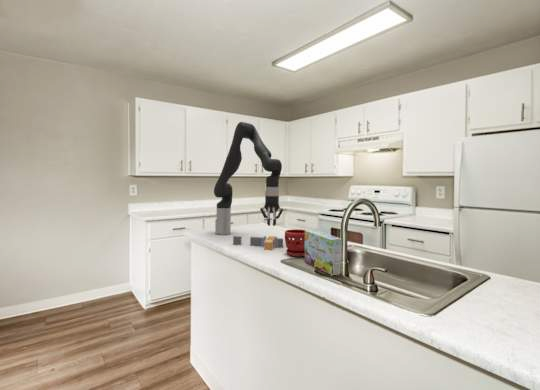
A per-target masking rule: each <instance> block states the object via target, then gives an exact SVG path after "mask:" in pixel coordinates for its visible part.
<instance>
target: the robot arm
mask: <svg viewBox="0 0 540 390" xmlns="http://www.w3.org/2000/svg"><path fill="white" fill-rule="evenodd" d="M244 139H247V140H249V141H251V142H252V144H253V150H254V153H255V154H256V155H257V157H258V158H259V159H260V163H261V165H262V168H263V170H265V171H266V172H270V173H271V174H270V175H269V176H268V175H267V177H266V178H265V193H264V194H265V195H264V198H265V203H264V206H263V207H260V209H259V210H260V212H261V214H262V217H263V218H264V219H266V221H267V226H268V227H270V226H271V214H272V218H273V219H272V226H273V227H275V226H276V225H277V220H278V219H279V218H280V216H281V215H282V214H283V212H284V210H285V209H284V208H282V207H280V190H279V186H280V185H279V182H280V180H279V179H280V177H281V173H282V168H283V166H282V165H283V164H282V161H281V160H280V159H275V158H272V152H271V151H270V150H269V149H268V147H267V146H266V145H265V143H264V142H263V140H262V138H261V136H260V135H259V132H258V130H257V129H256V127H255V125H253V124H252V123H249V122H246V121H245V122H244V121H240V122H238V123H237V124H236V126H235V130H234V133H233V136H232V141H231V144H230V148H229V151H228V153H227V156H226V158H225V161H224V165H223V167H222V170H221V173H220V175H219V177H218V179H217V181H216V182H215V185H214V188H213V195H214V196H215V197H216V198H221V200H220V201H218V202H217V203H216V218H215V220H214V221H215V223H214V224H215V225H214V226H215V228H214V229H215V231H214V232H215V235H221V236H222V235H223V236H225V235H226V236H227V235H230V234H231V231H232V230H231V228H232V227H231V225H232V224H231V223H232V222H231V221H232V220H231V219H232V218H231V216H232V215H231V214H232V213H231V211H232V210H231V209H232V203H233V187H232V185H231V184H230V183H228V181H229V180H230V179H231V177H232V176H233V175H235V173H236V172H237V171H238V170H239V168H240V165H241V162H242V160H243V157H242V151H241V145H242V142H243V140H244ZM266 212H267V213H266ZM277 212H278V214H277Z"/></svg>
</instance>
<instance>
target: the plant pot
mask: <svg viewBox="0 0 540 390" xmlns="http://www.w3.org/2000/svg"><path fill="white" fill-rule="evenodd" d="M305 230H306V229H299V228H298V229H294V228H293V229H287V230H285V231H284V242H285V243H284V244H285V247H286V250H285V253H286V254H287V255H290V256H291V257H292V256H293V257H302V256H303V257H305Z"/></svg>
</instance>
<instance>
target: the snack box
mask: <svg viewBox="0 0 540 390" xmlns="http://www.w3.org/2000/svg"><path fill="white" fill-rule="evenodd" d="M304 230H305V256H304V260H303V261H304V263H306V264H308V265H310V266H311V267H314V268H315V267H319V268H321V269H323V270H325V271H327V272H330V273H332V274H337V275H336V276H340V275H342V265H343V264H342V263H343V262H342V255H343V239H342V238H340V237H337V236H334V235H332V234H329V233H325V232H323V231H320V230H316V229H304Z"/></svg>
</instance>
